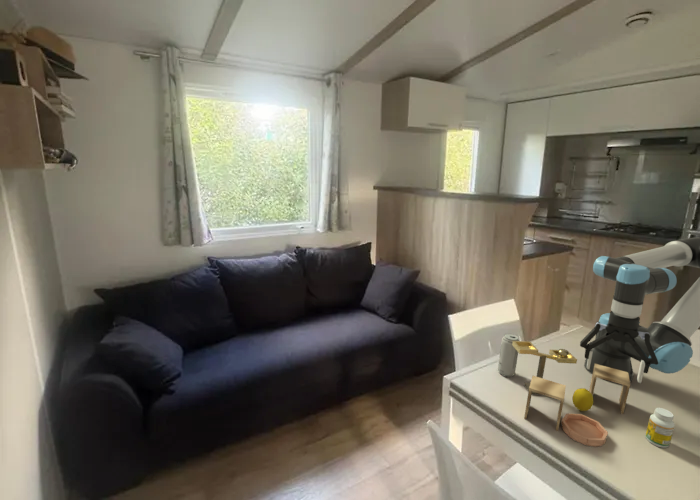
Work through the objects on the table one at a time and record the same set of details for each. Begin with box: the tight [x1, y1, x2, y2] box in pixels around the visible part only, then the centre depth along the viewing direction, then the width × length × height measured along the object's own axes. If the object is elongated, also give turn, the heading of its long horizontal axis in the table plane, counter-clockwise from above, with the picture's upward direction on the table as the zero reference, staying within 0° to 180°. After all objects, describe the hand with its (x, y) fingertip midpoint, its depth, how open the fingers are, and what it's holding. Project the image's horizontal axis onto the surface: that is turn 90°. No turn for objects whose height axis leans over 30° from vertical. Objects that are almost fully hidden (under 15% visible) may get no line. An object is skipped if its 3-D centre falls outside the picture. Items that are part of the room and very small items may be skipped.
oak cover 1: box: [524, 375, 567, 432], centre depth 111 cm, size 9×8×11 cm
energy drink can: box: [497, 333, 520, 378], centre depth 134 cm, size 6×6×15 cm
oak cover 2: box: [588, 364, 631, 415], centre depth 119 cm, size 9×8×11 cm
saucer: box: [560, 412, 609, 448], centre depth 106 cm, size 11×11×2 cm
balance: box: [512, 340, 578, 396], centre depth 124 cm, size 19×6×17 cm, turn 88°
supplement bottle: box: [644, 407, 675, 449], centre depth 102 cm, size 5×5×10 cm
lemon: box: [572, 387, 594, 412], centre depth 115 cm, size 6×6×8 cm
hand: (612, 373), depth 118 cm, fingers open, 13 cm apart
